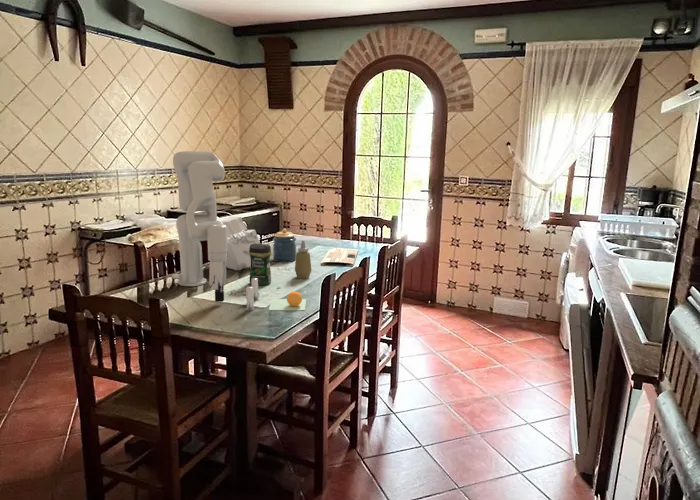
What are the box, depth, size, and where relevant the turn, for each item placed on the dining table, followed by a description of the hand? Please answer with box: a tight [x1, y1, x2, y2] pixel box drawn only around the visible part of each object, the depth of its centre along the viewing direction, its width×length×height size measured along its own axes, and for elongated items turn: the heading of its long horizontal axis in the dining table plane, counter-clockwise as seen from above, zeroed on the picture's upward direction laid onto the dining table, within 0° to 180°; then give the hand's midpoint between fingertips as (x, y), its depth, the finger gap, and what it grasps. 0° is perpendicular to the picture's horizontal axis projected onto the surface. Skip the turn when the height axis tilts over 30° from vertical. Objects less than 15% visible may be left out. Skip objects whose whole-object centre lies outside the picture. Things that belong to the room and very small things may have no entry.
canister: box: [272, 228, 297, 263], centre depth 279 cm, size 13×13×18 cm
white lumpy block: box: [219, 215, 261, 271], centre depth 258 cm, size 20×16×25 cm
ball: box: [286, 290, 303, 307], centre depth 198 cm, size 6×6×6 cm
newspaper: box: [320, 247, 359, 267], centre depth 286 cm, size 37×19×3 cm, turn 175°
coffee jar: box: [249, 243, 272, 286], centre depth 229 cm, size 10×8×19 cm
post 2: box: [250, 278, 259, 302], centre depth 205 cm, size 3×3×9 cm
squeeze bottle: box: [294, 240, 312, 279], centre depth 242 cm, size 8×8×18 cm
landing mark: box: [268, 298, 307, 311], centre depth 201 cm, size 14×14×1 cm
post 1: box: [245, 286, 255, 312], centre depth 193 cm, size 3×3×9 cm
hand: (219, 300), depth 199 cm, fingers closed
